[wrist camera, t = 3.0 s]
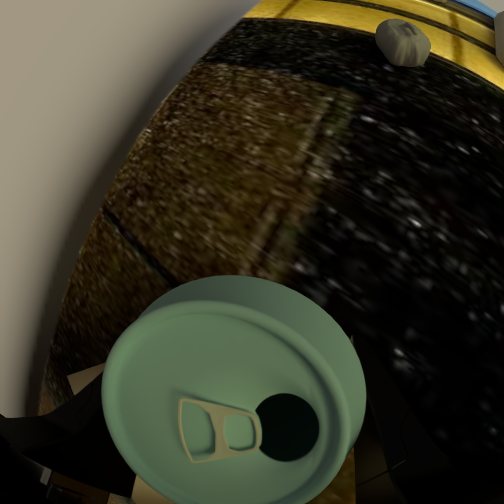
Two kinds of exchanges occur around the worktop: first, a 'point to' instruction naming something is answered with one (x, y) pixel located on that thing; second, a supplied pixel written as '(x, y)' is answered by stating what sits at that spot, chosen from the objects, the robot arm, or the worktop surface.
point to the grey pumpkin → (402, 43)
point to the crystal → (499, 36)
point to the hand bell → (442, 0)
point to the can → (234, 394)
